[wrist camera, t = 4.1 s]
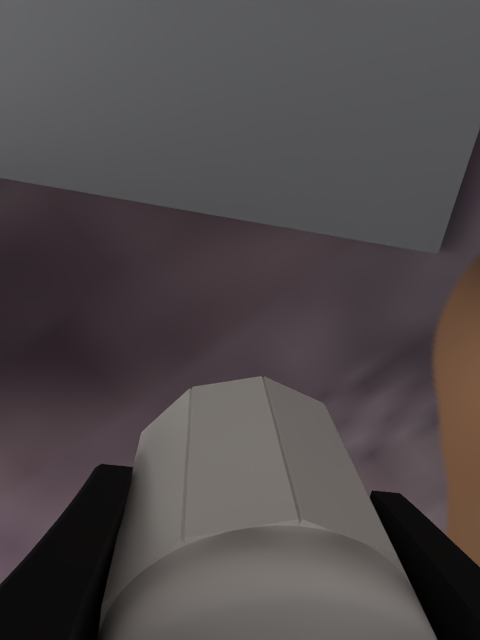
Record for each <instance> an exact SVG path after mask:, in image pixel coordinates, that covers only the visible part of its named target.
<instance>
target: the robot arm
mask: <svg viewBox="0 0 480 640" xmlns="http://www.w3.org/2000/svg"><path fill="white" fill-rule="evenodd" d="M132 473H133V467H126V466H116V465H106V464H100V465H99V466H97V467H96V468H95V469H94V470H93V472H92V473H91V475H90V477H89V478H88V480H87V481H86V482H85V484H84V485H83V487H82V488H81V490H80V491H79V492H78V494H77V495H76V496H75V498H74V499H73V500H72V502H71V503H70V504H69V506H68V507H67V508H66V510H65V511H64V512H63V513H62V515H61V516H60V517H59V518H58V520H57V521H56V522H55V523H54V524H53V526H52V527H51V528H50V529H49V530H48V532H47V533H46V534H45V535H44V536H43V538H42V539H41V540H40V541H39V542H38V543H37V545H36V546H35V547H34V548H33V549H32V551H31V552H30V553H29V554H28V555H27V556H26V557H25V558H24V560H23V561H22V562H21V563H20V564H19V565H18V566H17V567H16V568H15V569H14V570H13V571H12V572H11V574H10V575H9V576H8V577H7V578H6V579H5V580H4V581H3V582H2V583H1V584H0V640H98V634H99V625H100V615H101V606H102V602H103V597H104V593H105V588H106V584H107V580H108V575H109V571H110V566H111V562H112V558H113V553H114V549H115V544H116V540H117V536H118V531H119V528H120V525H121V522H122V518H123V514H124V510H125V505H126V501H127V496H128V492H129V488H130V483H131V479H132ZM370 500H371V502H372V504H373V506H374V508H375V510H376V512H377V515H378V517H379V519H380V521H381V523H382V525H383V527H384V529H385V531H386V533H387V535H388V537H389V540H390V542H391V544H392V546H393V548H394V550H395V552H396V554H397V556H398V558H399V560H400V562H401V565H402V567H403V569H404V571H405V573H406V575H407V577H408V579H409V581H410V583H411V586H412V588H413V590H414V592H415V594H416V596H417V598H418V600H419V602H420V604H421V606H422V609H423V611H424V613H425V615H426V617H427V619H428V621H429V623H430V625H431V627H432V629H433V631H434V634H435V636H436V638H437V640H480V567H479V566H478V565H477V564H476V563H474V562H473V561H472V560H471V559H470V558H469V557H468V556H467V555H466V554H465V553H464V552H463V551H462V550H461V549H460V548H459V547H458V546H457V545H455V544H454V543H453V542H452V541H451V540H450V539H449V538H448V537H447V536H446V535H445V534H444V533H443V532H442V531H441V530H440V529H439V528H437V527H436V526H435V525H434V524H433V523H432V522H431V521H430V520H429V519H428V518H427V517H426V516H425V515H424V514H423V513H421V512H420V511H419V510H418V509H417V508H416V507H415V506H414V505H413V504H412V503H410V502H409V501H408V500H407V499H406V498H405V497H403V496H402V495H401V494H400V493H391V492H381V491H372V492H371V495H370Z"/></svg>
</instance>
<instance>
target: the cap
mask: <svg viewBox="0 0 480 640" xmlns="http://www.w3.org/2000/svg"><path fill="white" fill-rule="evenodd" d="M98 640H437V638H436V636H435V634H434V631H433V629H432V627H431V625H430V623H429V621H428V619H427V617H426V615H425V613H424V611H423V609H422V606H421V604H420V602H419V600H418V598H417V596H416V594H415V592H414V590H413V588H412V586H411V583H410V581H409V579H408V577H407V575H406V573H405V571H404V569H403V567H402V565H401V562H400V560H399V558H398V556H397V554H396V552H395V550H394V548H393V546H392V544H391V542H390V540H389V537H388V535H387V533H386V531H385V529H384V527H383V525H382V523H381V521H380V519H379V517H378V515H377V512H376V510H375V508H374V506H373V504H372V502H371V500H370V498H369V496H368V494H367V492H366V490H365V487H364V485H363V483H362V481H361V479H360V477H359V475H358V473H357V471H356V469H355V467H354V464H353V462H352V460H351V458H350V456H349V454H348V452H347V450H346V448H345V446H344V444H343V442H342V439H341V437H340V435H339V433H338V431H337V429H336V427H335V425H334V423H333V421H332V419H331V417H330V414H329V412H328V410H327V408H326V406H325V405H324V404H323V403H322V402H320V401H318V400H315V399H313V398H311V397H309V396H307V395H304V394H302V393H300V392H298V391H296V390H293V389H291V388H289V387H287V386H285V385H282V384H280V383H278V382H276V381H274V380H271V379H269V378H267V377H265V376H264V378H263V379H262V376H259V377H252V378H246V379H239V380H233V381H227V382H220V383H214V384H207V385H201V386H195V387H192V390H191V389H190V388H189V389H188V390H187V391H186V392H185V393H184V394H183V395H182V396H180V397H179V398H178V399H177V400H176V401H175V402H174V403H173V404H172V405H171V406H169V407H168V408H167V409H166V410H165V411H164V412H163V413H162V414H161V415H160V416H158V417H157V418H156V419H155V420H154V421H153V422H152V423H151V424H150V425H149V426H147V427H146V428H145V429H144V430H143V431H142V433H141V435H140V439H139V443H138V448H137V452H136V457H135V461H134V465H133V473H132V479H131V483H130V488H129V492H128V496H127V501H126V505H125V510H124V514H123V518H122V522H121V525H120V528H119V531H118V536H117V540H116V544H115V549H114V553H113V558H112V562H111V566H110V571H109V575H108V580H107V584H106V588H105V593H104V597H103V602H102V606H101V615H100V625H99V634H98Z"/></svg>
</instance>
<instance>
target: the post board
mask: <svg viewBox="0 0 480 640" xmlns="http://www.w3.org/2000/svg"><path fill="white" fill-rule="evenodd" d="M479 129H480V0H0V178H3V179H9V180H15V181H20V182H26V183H32V184H38V185H43V186H49V187H55V188H60V189H66V190H72V191H78V192H83V193H89V194H95V195H100V196H106V197H112V198H118V199H123V200H129V201H135V202H140V203H146V204H152V205H158V206H163V207H169V208H175V209H181V210H186V211H192V212H198V213H203V214H209V215H215V216H221V217H226V218H232V219H238V220H243V221H249V222H255V223H261V224H266V225H272V226H278V227H283V228H289V229H295V230H301V231H306V232H312V233H318V234H323V235H329V236H335V237H341V238H346V239H352V240H358V241H363V242H369V243H375V244H381V245H386V246H392V247H398V248H404V249H409V250H415V251H421V252H426V253H432V254H438V253H439V250H440V247H441V244H442V240H443V237H444V234H445V231H446V228H447V225H448V222H449V219H450V216H451V213H452V210H453V207H454V204H455V201H456V198H457V195H458V192H459V189H460V186H461V183H462V180H463V177H464V174H465V171H466V168H467V165H468V162H469V159H470V156H471V153H472V150H473V147H474V144H475V141H476V138H477V135H478V132H479Z"/></svg>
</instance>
